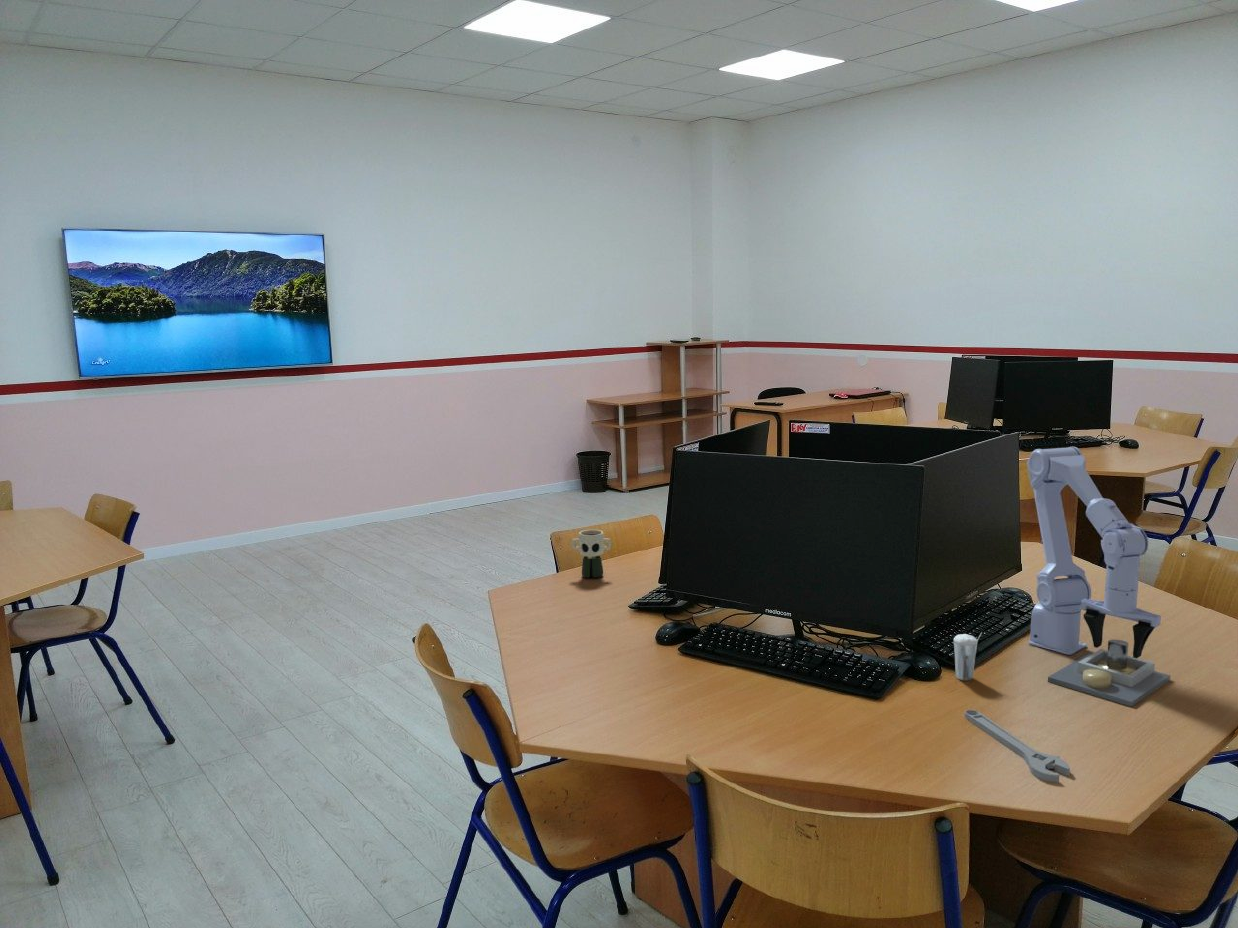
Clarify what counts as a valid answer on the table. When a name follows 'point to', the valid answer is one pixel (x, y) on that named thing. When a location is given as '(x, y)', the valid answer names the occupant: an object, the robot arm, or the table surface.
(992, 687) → the table surface
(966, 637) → the milkshake
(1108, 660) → the flanged metal cylinder
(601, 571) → the character mug
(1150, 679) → the carrier
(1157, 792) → the table surface
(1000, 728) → the adjustable wrench
